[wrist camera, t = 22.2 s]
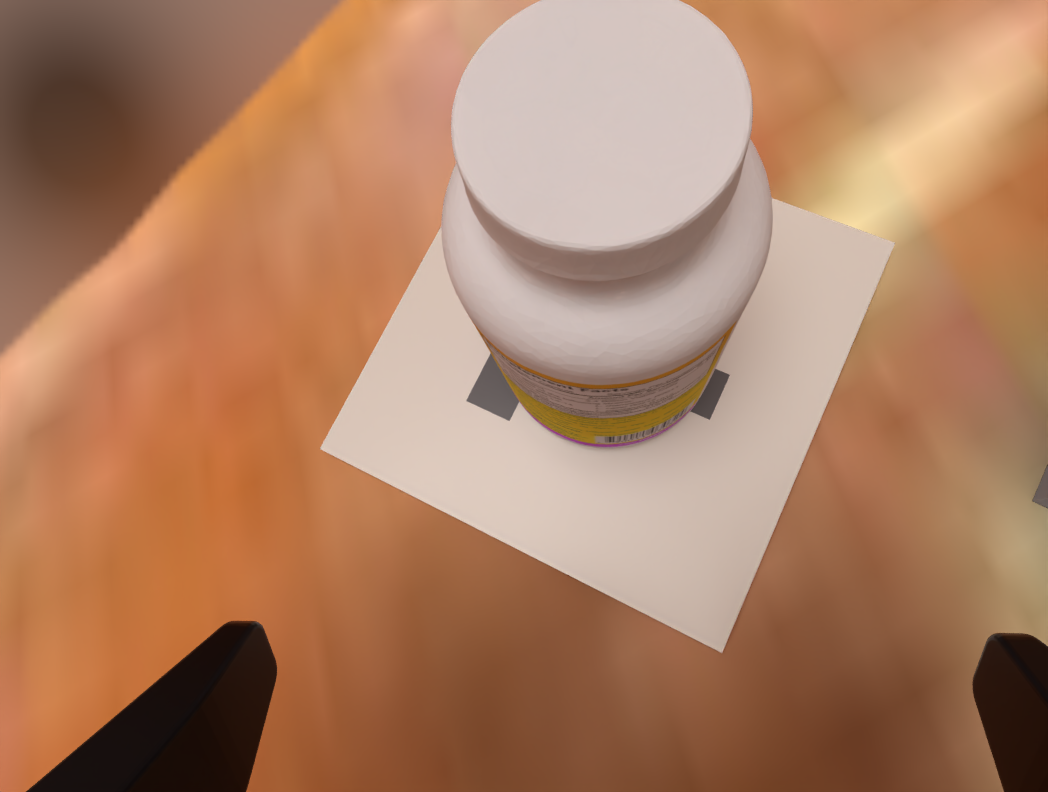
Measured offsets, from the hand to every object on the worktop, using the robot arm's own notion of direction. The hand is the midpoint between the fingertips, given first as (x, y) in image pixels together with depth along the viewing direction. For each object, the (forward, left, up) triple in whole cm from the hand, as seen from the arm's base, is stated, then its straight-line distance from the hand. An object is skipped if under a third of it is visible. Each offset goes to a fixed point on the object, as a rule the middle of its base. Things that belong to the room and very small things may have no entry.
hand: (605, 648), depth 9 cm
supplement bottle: (+3, -7, -13) cm, 15 cm away
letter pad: (+4, -7, -14) cm, 16 cm away
